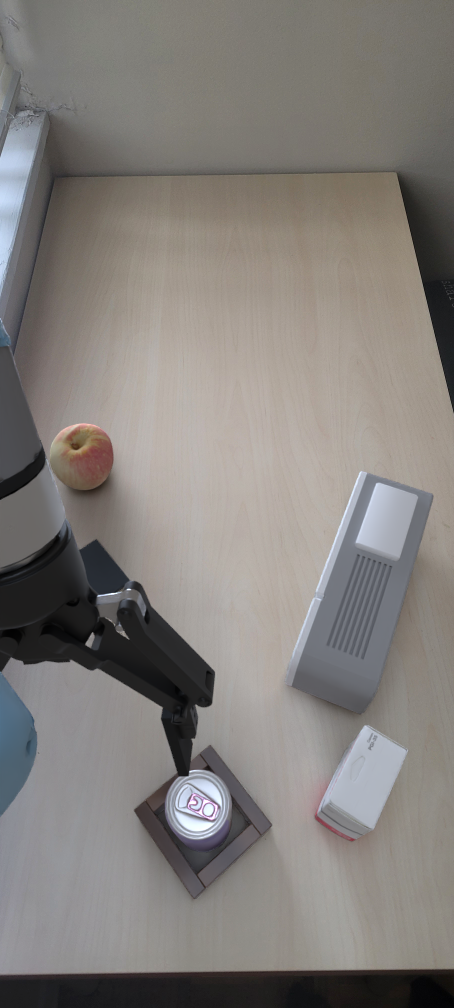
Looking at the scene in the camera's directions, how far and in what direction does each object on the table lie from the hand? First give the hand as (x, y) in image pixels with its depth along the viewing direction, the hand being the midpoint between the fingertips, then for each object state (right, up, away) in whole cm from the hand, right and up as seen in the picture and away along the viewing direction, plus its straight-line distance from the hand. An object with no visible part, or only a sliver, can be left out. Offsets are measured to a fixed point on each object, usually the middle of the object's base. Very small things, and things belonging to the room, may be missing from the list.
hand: (97, 763), depth 48 cm
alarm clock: (+26, +7, +33) cm, 43 cm away
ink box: (+23, -12, +22) cm, 34 cm away
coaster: (-8, +10, +35) cm, 38 cm away
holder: (+7, -14, +20) cm, 26 cm away
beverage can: (+7, -15, +21) cm, 26 cm away
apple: (-10, +24, +44) cm, 51 cm away
